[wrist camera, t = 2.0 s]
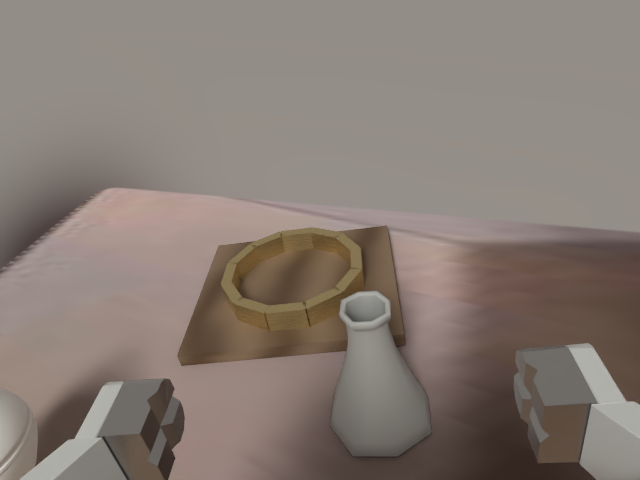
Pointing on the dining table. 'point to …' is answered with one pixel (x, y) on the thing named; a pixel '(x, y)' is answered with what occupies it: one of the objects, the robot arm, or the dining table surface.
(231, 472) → the dining table surface
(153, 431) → the robot arm
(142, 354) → the dining table surface
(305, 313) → the wooden ring
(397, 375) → the flask
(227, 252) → the walnut board
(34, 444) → the spinning top
